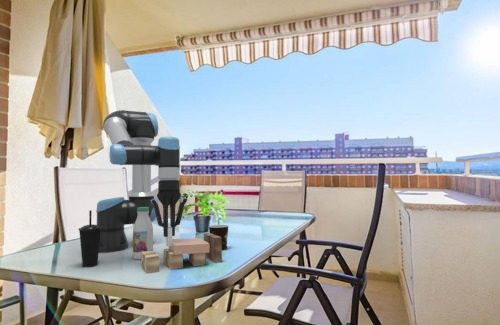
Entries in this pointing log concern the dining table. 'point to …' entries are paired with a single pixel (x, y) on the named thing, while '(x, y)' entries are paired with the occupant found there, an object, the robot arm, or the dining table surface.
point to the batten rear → (150, 261)
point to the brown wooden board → (214, 247)
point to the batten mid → (173, 259)
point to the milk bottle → (142, 233)
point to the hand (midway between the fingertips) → (169, 245)
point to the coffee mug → (220, 233)
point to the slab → (189, 246)
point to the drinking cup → (90, 243)
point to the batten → (197, 259)
